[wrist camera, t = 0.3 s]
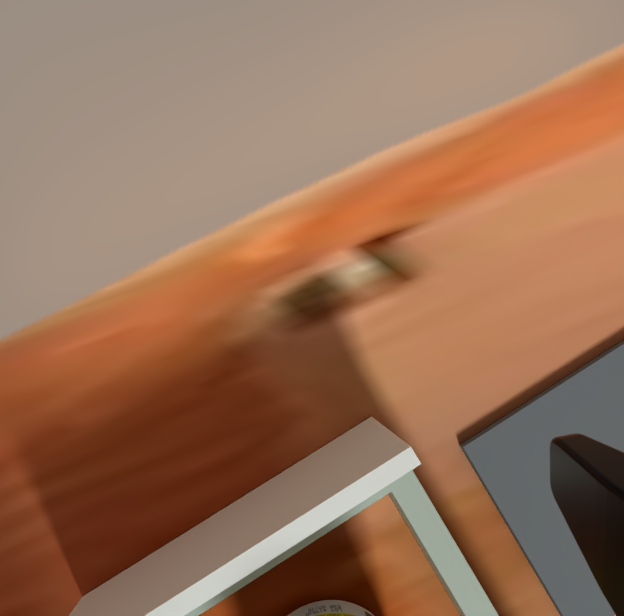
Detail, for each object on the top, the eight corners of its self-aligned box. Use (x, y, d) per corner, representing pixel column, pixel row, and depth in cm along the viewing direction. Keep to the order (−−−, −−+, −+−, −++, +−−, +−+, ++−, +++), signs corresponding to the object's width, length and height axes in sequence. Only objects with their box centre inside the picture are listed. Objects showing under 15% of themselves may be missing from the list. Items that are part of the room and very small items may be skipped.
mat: (743, 514, 23) (752, 517, 23) (571, 634, 22) (577, 640, 22) (635, 332, 23) (642, 332, 23) (459, 445, 22) (462, 447, 22)
